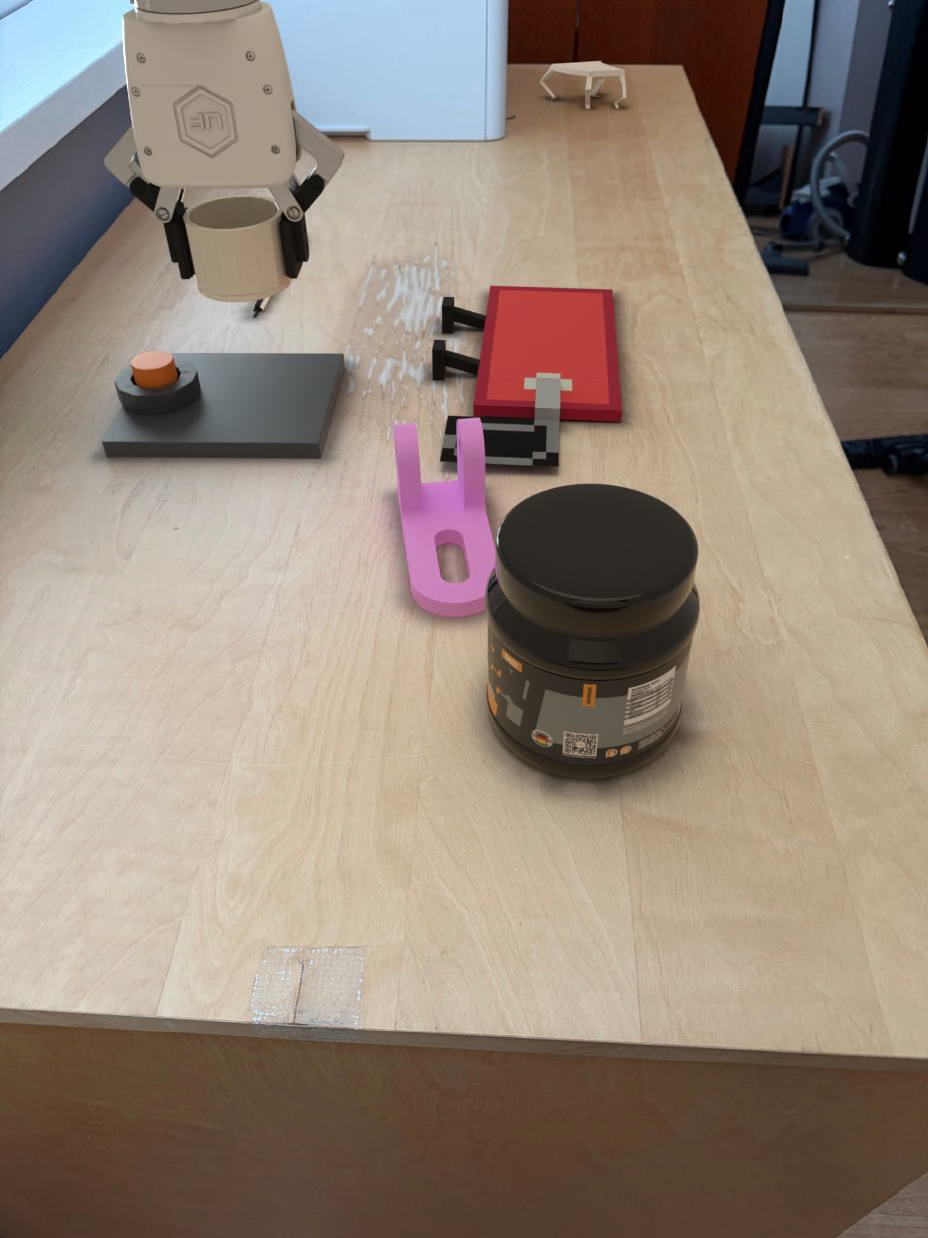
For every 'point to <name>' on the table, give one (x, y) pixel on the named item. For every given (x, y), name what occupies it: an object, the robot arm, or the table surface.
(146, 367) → the button
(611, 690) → the supplement container
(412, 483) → the bracket
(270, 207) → the cup
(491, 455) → the red board with handle
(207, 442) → the dark grey flat block
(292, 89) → the robot arm
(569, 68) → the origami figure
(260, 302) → the pen
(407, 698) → the table surface
